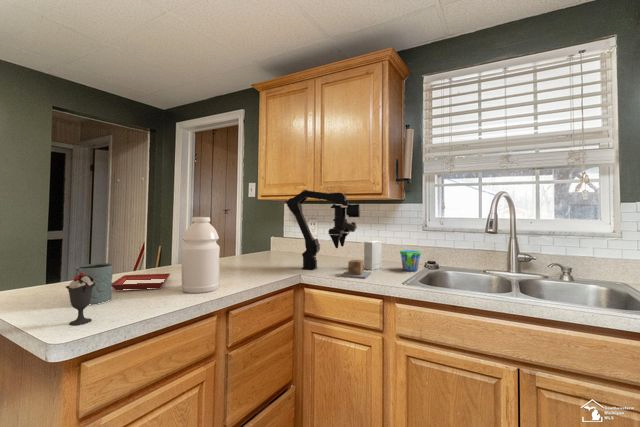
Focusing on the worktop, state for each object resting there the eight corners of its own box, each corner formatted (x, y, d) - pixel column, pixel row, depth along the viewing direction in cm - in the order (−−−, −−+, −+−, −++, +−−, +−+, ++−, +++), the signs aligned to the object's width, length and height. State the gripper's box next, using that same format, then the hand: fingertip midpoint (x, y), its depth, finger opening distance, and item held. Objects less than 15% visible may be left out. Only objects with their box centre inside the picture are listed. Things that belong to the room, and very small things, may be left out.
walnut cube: (348, 274, 149) (348, 261, 149) (351, 271, 154) (351, 259, 154) (360, 275, 147) (360, 262, 146) (363, 272, 152) (363, 260, 152)
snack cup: (403, 267, 174) (403, 248, 174) (423, 268, 169) (423, 250, 169) (396, 271, 160) (396, 252, 160) (417, 274, 155) (418, 253, 155)
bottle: (202, 295, 113) (202, 217, 112) (172, 291, 118) (173, 217, 117) (226, 286, 126) (227, 217, 126) (199, 283, 131) (199, 216, 130)
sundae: (67, 328, 80) (68, 270, 80) (62, 322, 85) (62, 267, 85) (98, 322, 85) (98, 267, 85) (92, 316, 90) (92, 264, 90)
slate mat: (340, 276, 147) (340, 274, 147) (347, 271, 158) (347, 270, 158) (365, 278, 143) (365, 277, 143) (371, 273, 154) (371, 272, 154)
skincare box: (373, 267, 173) (374, 240, 172) (382, 268, 168) (382, 241, 168) (363, 268, 167) (363, 241, 167) (371, 270, 163) (372, 242, 162)
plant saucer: (170, 280, 138) (170, 272, 138) (163, 290, 120) (163, 281, 120) (123, 282, 132) (123, 274, 132) (109, 293, 115) (109, 284, 115)
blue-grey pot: (106, 304, 100) (106, 267, 100) (69, 307, 98) (69, 269, 97) (117, 296, 110) (117, 262, 110) (83, 298, 107) (83, 263, 107)
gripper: (350, 217, 150) (349, 250, 150) (359, 217, 167) (359, 246, 167) (328, 217, 154) (327, 249, 154) (339, 216, 171) (339, 245, 172)
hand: (339, 247), depth 162 cm, fingers open, 9 cm apart
